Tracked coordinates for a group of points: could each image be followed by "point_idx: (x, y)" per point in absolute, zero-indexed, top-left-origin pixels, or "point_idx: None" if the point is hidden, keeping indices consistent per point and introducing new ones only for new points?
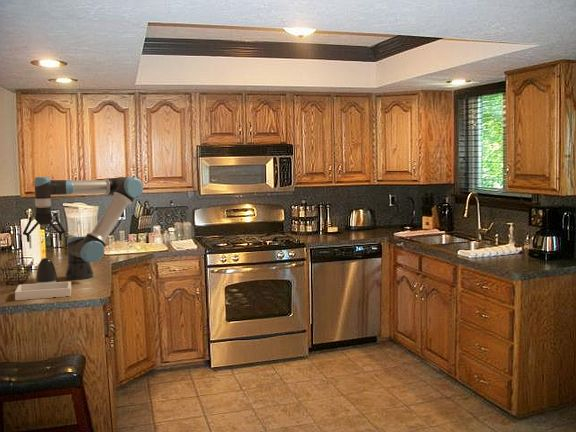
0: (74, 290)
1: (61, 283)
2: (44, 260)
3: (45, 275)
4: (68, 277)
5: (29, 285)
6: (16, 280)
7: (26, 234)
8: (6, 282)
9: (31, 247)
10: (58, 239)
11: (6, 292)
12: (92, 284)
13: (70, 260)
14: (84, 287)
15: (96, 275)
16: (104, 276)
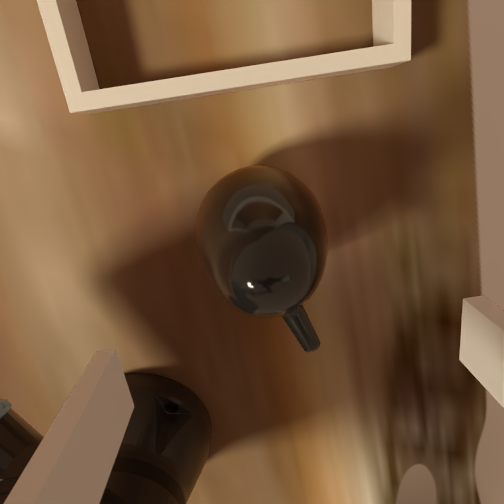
0: None
1: (130, 85)
2: (275, 245)
3: (254, 175)
4: (183, 393)
5: (338, 53)
6: (434, 406)
7: None
8: None
9: (462, 357)
10: (53, 442)
11: (461, 96)
12: (5, 232)
13: (154, 486)
14: (22, 148)
15: None
16: None
